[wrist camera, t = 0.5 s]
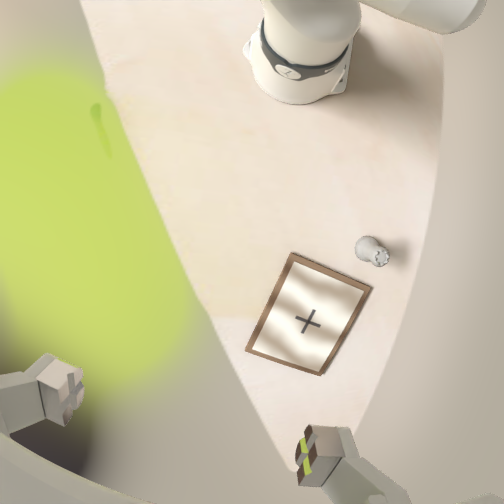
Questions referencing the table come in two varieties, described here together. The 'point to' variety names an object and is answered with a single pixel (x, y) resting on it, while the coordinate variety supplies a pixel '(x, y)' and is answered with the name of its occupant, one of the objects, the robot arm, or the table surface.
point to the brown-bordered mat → (306, 316)
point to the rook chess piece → (371, 251)
